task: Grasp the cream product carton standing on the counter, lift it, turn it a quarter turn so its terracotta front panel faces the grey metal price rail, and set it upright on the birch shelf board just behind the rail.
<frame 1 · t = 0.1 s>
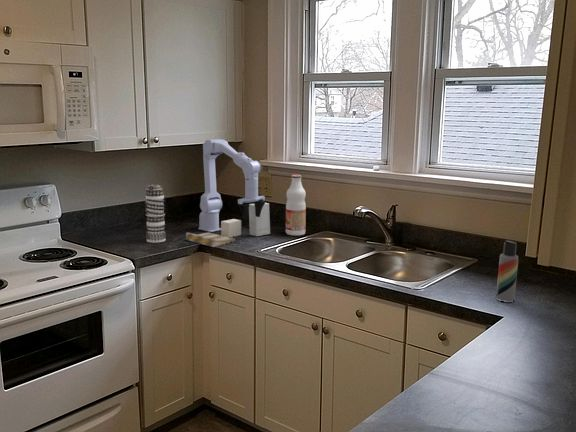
hand: (251, 217, 265), 10 cm above the worktop, fingers open, 7 cm apart
shelf: (211, 240, 264), on the worktop
carton: (231, 235, 274), on the worktop
lotion bottle: (504, 300, 192), on the worktop
fruit juice: (295, 233, 280), on the worktop
grey striped cylinder: (156, 240, 263), on the worktop
skincare box: (259, 235, 276), on the worktop
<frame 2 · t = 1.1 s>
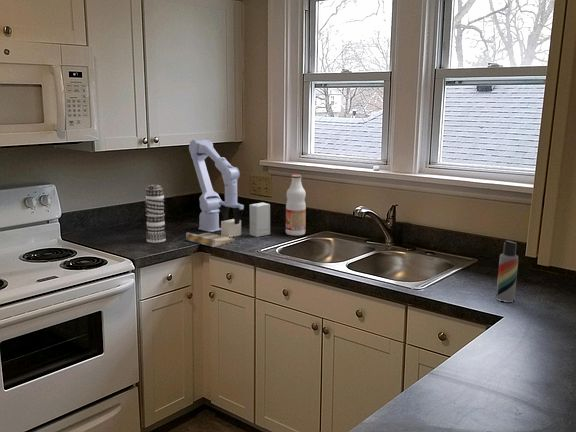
hand: (231, 222, 273), 6 cm above the worktop, fingers open, 7 cm apart
nothing on the worktop moved.
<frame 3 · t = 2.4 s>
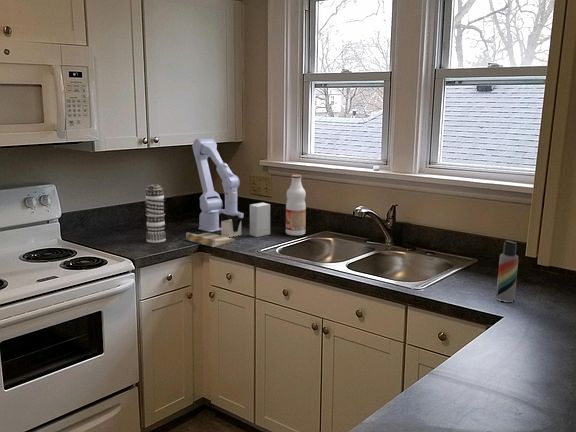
hand: (231, 230, 274), 2 cm above the worktop, fingers closed on carton, 5 cm apart
carton: (231, 235, 274), on the worktop, touching gripper
everything else where it was.
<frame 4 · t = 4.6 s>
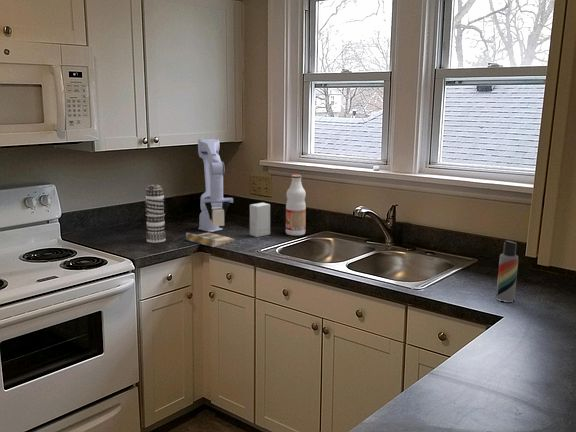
hand: (217, 218, 266), 9 cm above the worktop, fingers closed on carton, 5 cm apart
carton: (217, 224, 266), point 7 cm above the worktop, touching gripper
everything else where it was.
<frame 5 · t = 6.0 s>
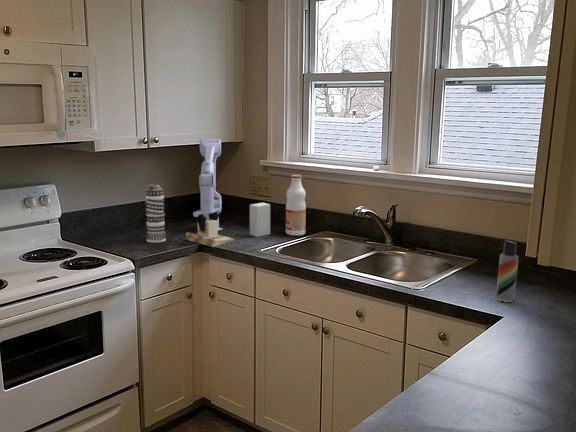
hand: (207, 230, 262), 5 cm above the worktop, fingers closed on carton, 5 cm apart
carton: (207, 235, 263), point 2 cm above the worktop, touching gripper
everything else where it was.
when the fingers open (4 cm above the worktop, at t = 7.0 s): carton stays where it is, resting on shelf.
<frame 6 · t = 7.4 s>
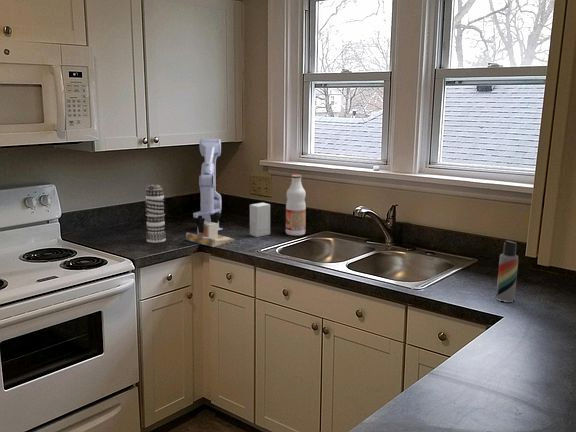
hand: (207, 231, 262), 4 cm above the worktop, fingers open, 7 cm apart
carton: (207, 238, 263), point 1 cm above the worktop, touching shelf
everything else where it was.
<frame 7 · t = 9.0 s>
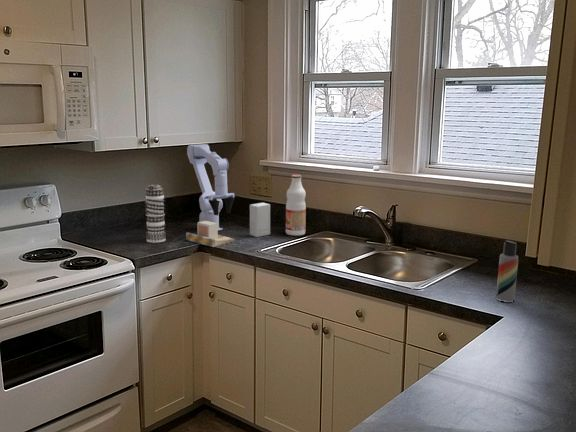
hand: (222, 214, 272), 10 cm above the worktop, fingers open, 7 cm apart
nothing on the worktop moved.
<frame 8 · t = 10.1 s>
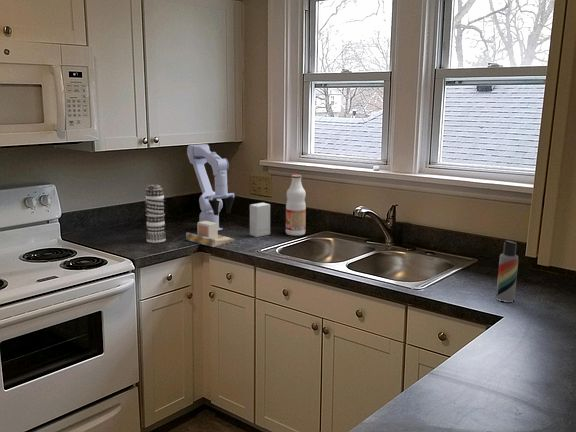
hand: (222, 214, 272), 10 cm above the worktop, fingers open, 7 cm apart
nothing on the worktop moved.
at the end: carton inside the target area (0.4 cm from its centre), point 1.2 cm above the worktop; carton tilted 0°; the gripper is holding nothing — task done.
